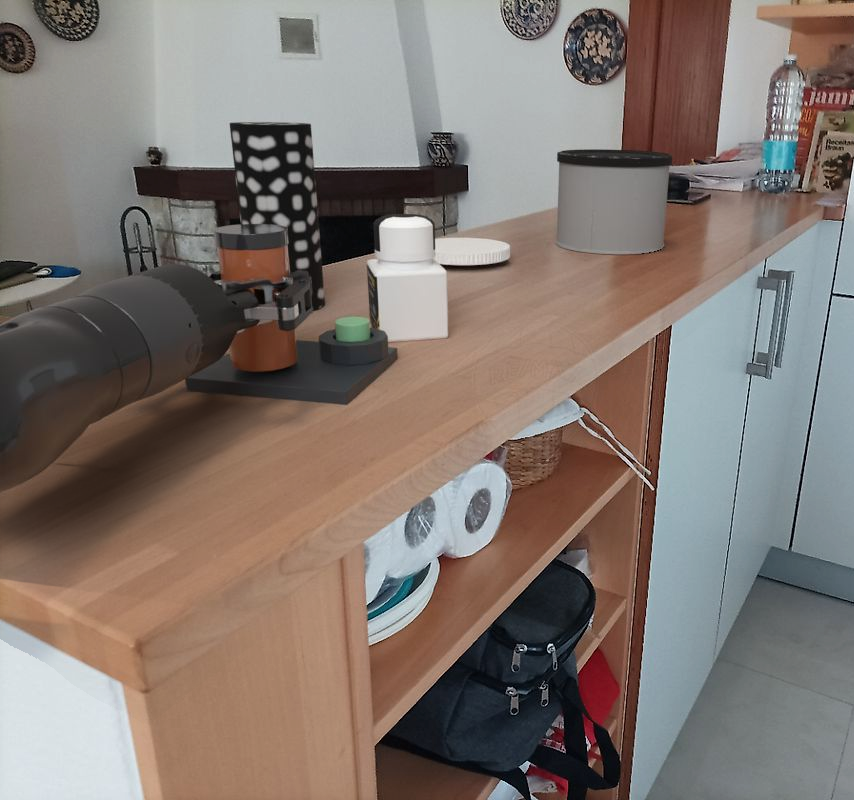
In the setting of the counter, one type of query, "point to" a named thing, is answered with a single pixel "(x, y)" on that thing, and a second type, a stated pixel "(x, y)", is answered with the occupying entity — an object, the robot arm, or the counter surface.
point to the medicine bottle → (407, 280)
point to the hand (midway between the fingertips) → (271, 280)
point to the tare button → (352, 329)
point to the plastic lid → (470, 251)
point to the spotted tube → (281, 189)
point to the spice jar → (248, 257)
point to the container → (612, 200)
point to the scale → (306, 371)
